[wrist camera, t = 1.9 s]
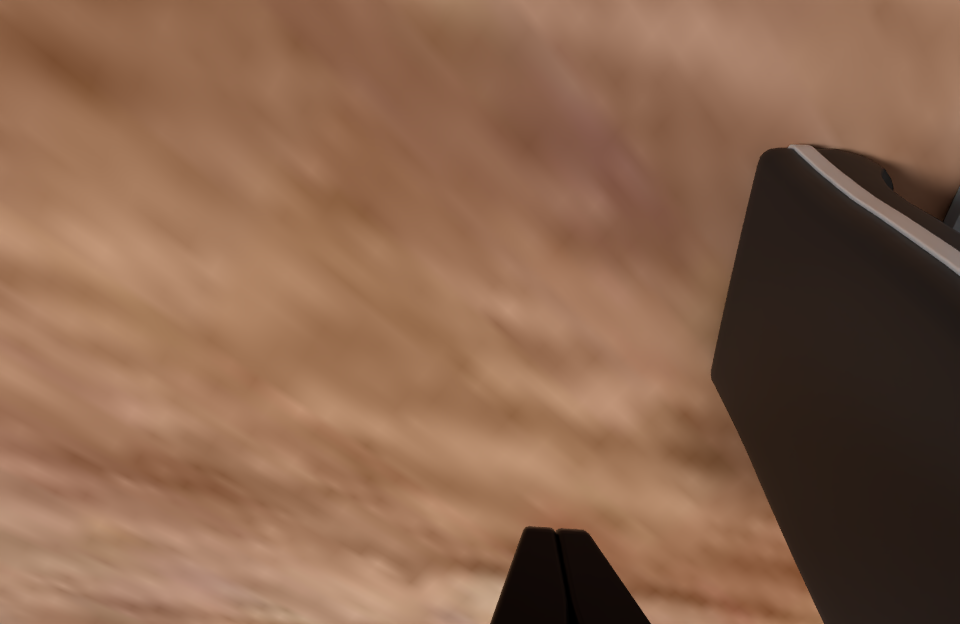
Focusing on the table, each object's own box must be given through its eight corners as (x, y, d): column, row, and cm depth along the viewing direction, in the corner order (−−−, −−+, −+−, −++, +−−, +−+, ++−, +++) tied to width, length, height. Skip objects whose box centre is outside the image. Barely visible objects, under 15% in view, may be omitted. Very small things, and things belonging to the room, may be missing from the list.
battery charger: (838, 383, 20) (1190, 865, 10) (702, 381, 20) (922, 863, 10) (923, 135, 16) (1590, 505, 7) (756, 131, 16) (1180, 500, 7)
